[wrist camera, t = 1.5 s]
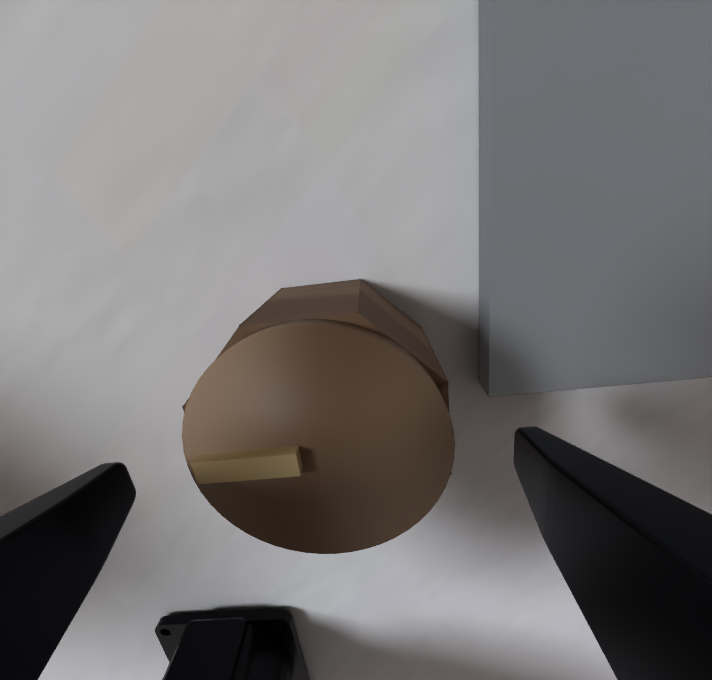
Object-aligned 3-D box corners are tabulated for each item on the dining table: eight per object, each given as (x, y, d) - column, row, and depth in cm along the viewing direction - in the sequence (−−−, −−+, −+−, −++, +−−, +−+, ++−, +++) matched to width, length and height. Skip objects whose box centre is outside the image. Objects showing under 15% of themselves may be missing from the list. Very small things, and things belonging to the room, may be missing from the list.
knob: (418, 271, 11) (455, 312, 6) (428, 438, 13) (461, 556, 9) (226, 294, 11) (134, 348, 7) (266, 452, 13) (215, 572, 9)
